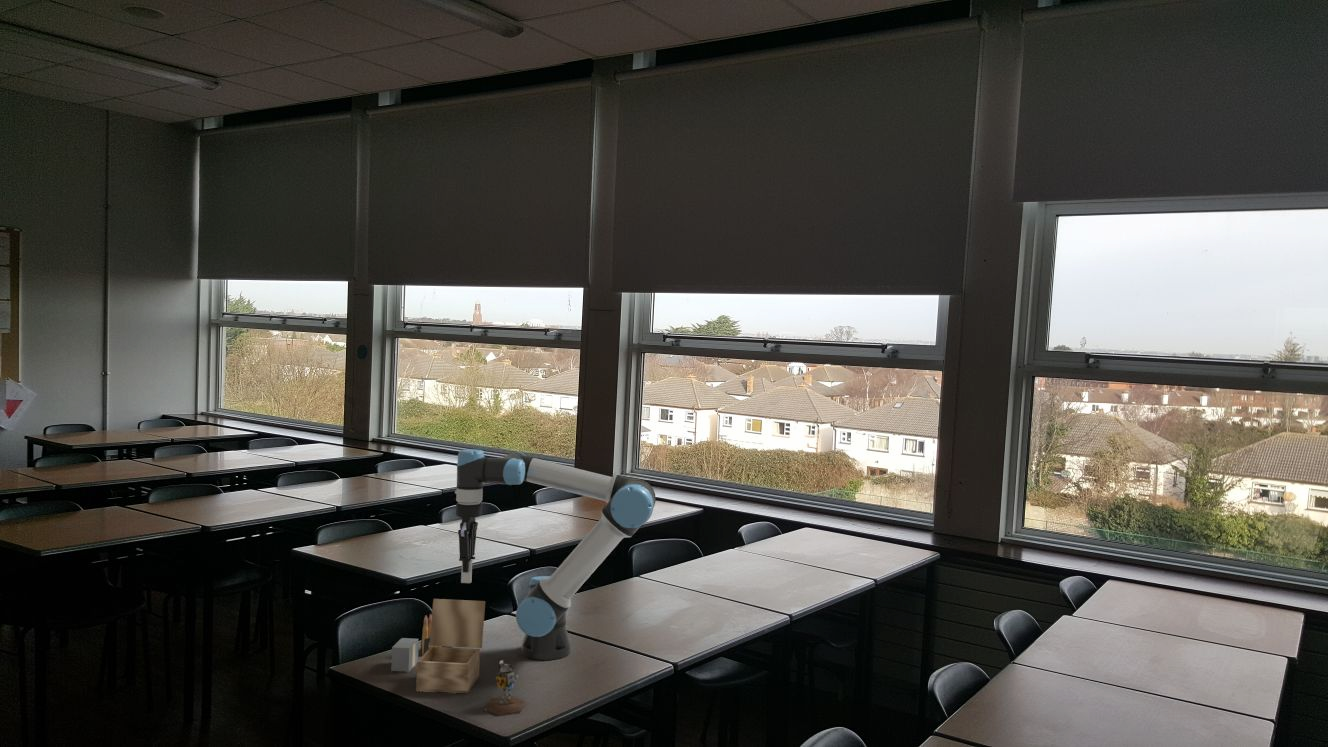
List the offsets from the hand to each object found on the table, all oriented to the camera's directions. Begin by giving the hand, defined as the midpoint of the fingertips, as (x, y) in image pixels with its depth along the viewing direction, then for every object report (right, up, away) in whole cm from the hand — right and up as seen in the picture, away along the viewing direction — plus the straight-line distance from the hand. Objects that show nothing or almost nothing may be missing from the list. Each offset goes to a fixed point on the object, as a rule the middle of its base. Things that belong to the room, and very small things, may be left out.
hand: (466, 582), depth 250 cm
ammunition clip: (-11, -24, +10) cm, 28 cm away
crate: (-1, -24, -15) cm, 29 cm away
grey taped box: (-17, -24, -4) cm, 29 cm away
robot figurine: (+17, -26, -29) cm, 42 cm away
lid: (-1, -10, -9) cm, 13 cm away
